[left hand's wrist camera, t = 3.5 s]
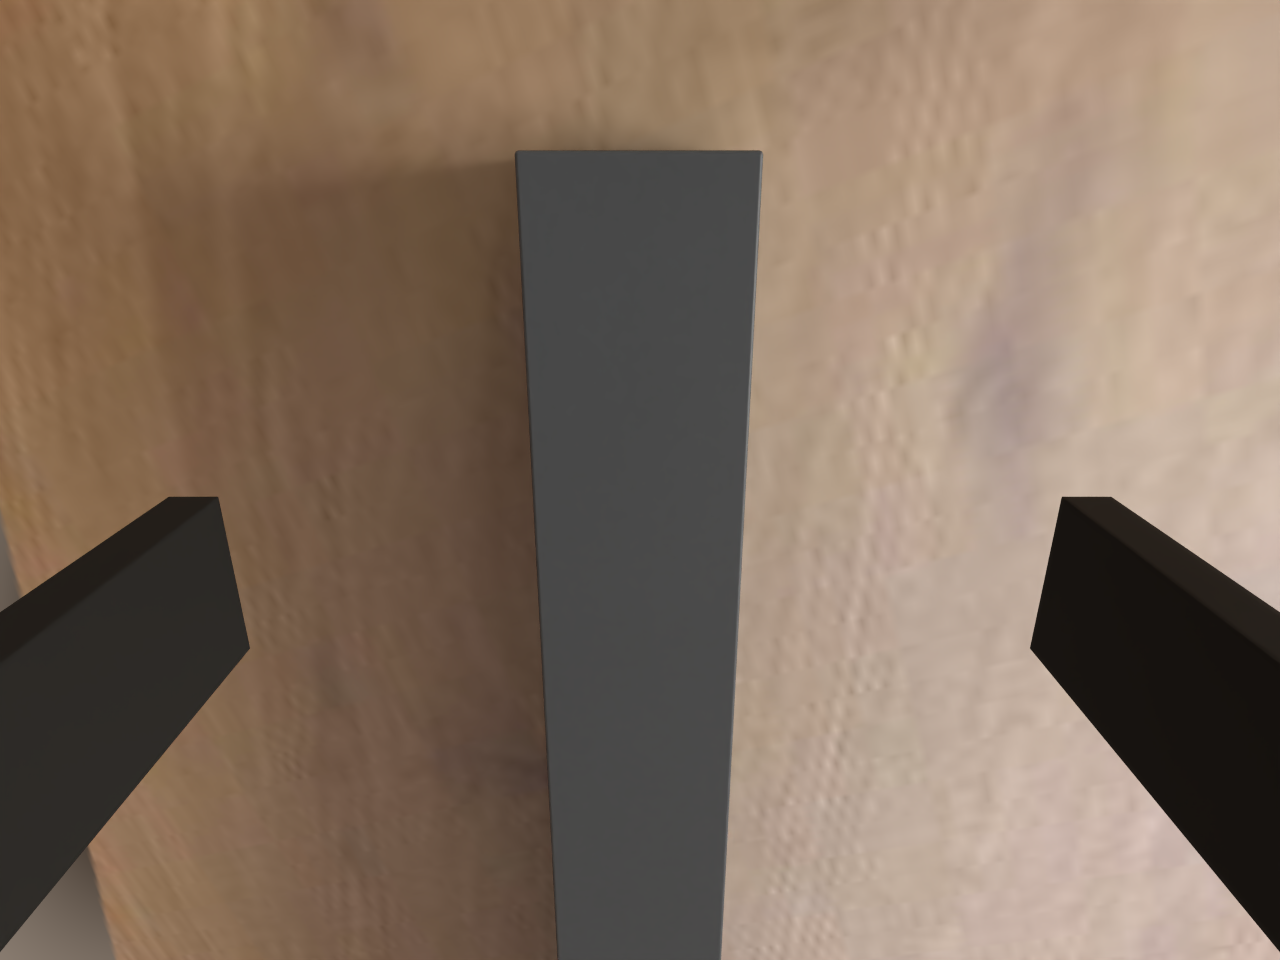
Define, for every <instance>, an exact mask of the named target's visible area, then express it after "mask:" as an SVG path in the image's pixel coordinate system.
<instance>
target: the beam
mask: <svg viewBox="0 0 1280 960" xmlns="http://www.w3.org/2000/svg"><path fill="white" fill-rule="evenodd" d="M762 165H763V153H762V152H761V151H516V152H515V168H516V187H517V206H518V225H519V243H520V262H521V281H522V300H523V318H524V337H525V356H526V375H527V393H528V412H529V431H530V450H531V468H532V487H533V506H534V525H535V544H536V562H537V581H538V600H539V619H540V637H541V656H542V675H543V694H544V712H545V731H546V750H547V769H548V787H549V806H550V825H551V844H552V862H553V881H554V900H555V919H556V938H557V956H558V960H721V948H722V929H723V910H724V891H725V871H726V852H727V833H728V814H729V795H730V776H731V757H732V738H733V719H734V700H735V680H736V661H737V642H738V623H739V604H740V585H741V566H742V547H743V528H744V509H745V489H746V470H747V451H748V432H749V413H750V394H751V375H752V356H753V337H754V318H755V298H756V279H757V260H758V241H759V222H760V203H761V184H762Z"/></svg>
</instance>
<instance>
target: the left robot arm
mask: <svg viewBox="0 0 1280 960" xmlns="http://www.w3.org/2000/svg"><path fill="white" fill-rule="evenodd" d="M249 649H250V646H249V642H248V637H247V632H246V627H245V623H244V618H243V613H242V608H241V603H240V599H239V594H238V589H237V584H236V580H235V575H234V570H233V565H232V561H231V556H230V551H229V546H228V542H227V537H226V532H225V527H224V523H223V518H222V513H221V508H220V504H219V499H218V497H168V498H166V499H165V500H164V501H162V502H161V503H159V504H158V505H156V506H155V507H153V508H152V509H150V510H149V511H147V512H146V513H145V514H143V515H142V516H140V517H139V518H137V519H136V520H134V521H133V522H131V523H130V524H129V525H127V526H126V527H124V528H123V529H121V530H120V531H118V532H117V533H115V534H114V535H112V536H111V537H110V538H108V539H107V540H105V541H104V542H102V543H101V544H99V545H98V546H96V547H95V548H93V549H92V550H91V551H89V552H88V553H86V554H85V555H83V556H82V557H80V558H79V559H77V560H76V561H74V562H73V563H72V564H70V565H69V566H67V567H66V568H64V569H63V570H61V571H60V572H58V573H57V574H55V575H54V576H53V577H51V578H50V579H48V580H47V581H45V582H44V583H42V584H41V585H39V586H38V587H36V588H35V589H34V590H32V591H31V592H29V593H28V594H26V595H25V596H23V597H22V598H20V599H19V600H18V601H16V602H15V603H13V604H12V605H10V606H9V607H7V608H6V609H4V610H3V611H1V612H0V951H1V950H2V949H3V948H4V947H5V945H6V944H7V943H8V942H9V940H10V939H11V938H12V937H13V936H14V934H15V933H16V932H17V931H18V930H19V928H20V927H21V926H22V925H23V924H24V922H25V921H26V920H27V919H28V917H29V916H30V915H31V914H32V913H33V911H34V910H35V909H36V908H37V906H38V905H39V904H40V903H41V902H42V900H43V899H44V898H45V897H46V896H47V894H48V893H49V892H50V891H51V889H52V888H53V887H54V886H55V885H56V883H57V882H58V881H59V880H60V879H61V877H62V876H63V875H64V874H65V872H66V871H67V870H68V869H69V868H70V866H71V865H72V864H73V863H74V862H75V860H76V859H77V858H78V857H79V855H80V854H81V853H82V852H83V851H84V849H85V848H86V847H87V846H88V845H89V843H90V842H91V841H92V840H93V838H94V837H95V836H96V835H97V834H98V832H99V831H100V830H101V829H102V828H103V826H104V825H105V824H106V823H107V821H108V820H109V819H110V818H111V817H112V815H113V814H114V813H115V812H116V811H117V809H118V808H119V807H120V806H121V804H122V803H123V802H124V801H125V800H126V798H127V797H128V796H129V795H130V793H131V792H132V791H133V790H134V789H135V787H136V786H137V785H138V784H139V783H140V781H141V780H142V779H143V778H144V776H145V775H146V774H147V773H148V772H149V770H150V769H151V768H152V767H153V766H154V764H155V763H156V762H157V761H158V759H159V758H160V757H161V756H162V755H163V753H164V752H165V751H166V750H167V749H168V747H169V746H170V745H171V744H172V742H173V741H174V740H175V739H176V738H177V736H178V735H179V734H180V733H181V732H182V730H183V729H184V728H185V727H186V725H187V724H188V723H189V722H190V721H191V719H192V718H193V717H194V716H195V714H196V713H197V712H198V711H199V710H200V708H201V707H202V706H203V705H204V704H205V702H206V701H207V700H208V699H209V697H210V696H211V695H212V694H213V693H214V691H215V690H216V689H217V688H218V687H219V685H220V684H221V683H222V682H223V680H224V679H225V678H226V677H227V676H228V674H229V673H230V672H231V671H232V670H233V668H234V667H235V666H236V665H237V663H238V662H239V661H240V660H241V659H242V657H243V656H244V655H245V654H246V653H247V651H248V650H249ZM1030 649H1031V650H1032V651H1033V653H1034V654H1035V655H1036V656H1037V657H1038V659H1039V660H1040V661H1041V662H1042V663H1043V665H1044V666H1045V667H1046V668H1047V670H1048V671H1049V672H1050V673H1051V674H1052V676H1053V677H1054V678H1055V679H1056V680H1057V682H1058V683H1059V684H1060V685H1061V687H1062V688H1063V689H1064V690H1065V691H1066V693H1067V694H1068V695H1069V696H1070V697H1071V699H1072V700H1073V701H1074V702H1075V704H1076V705H1077V706H1078V707H1079V708H1080V710H1081V711H1082V712H1083V713H1084V714H1085V716H1086V717H1087V718H1088V719H1089V721H1090V722H1091V723H1092V724H1093V725H1094V727H1095V728H1096V729H1097V730H1098V732H1099V733H1100V734H1101V735H1102V736H1103V738H1104V739H1105V740H1106V741H1107V742H1108V744H1109V745H1110V746H1111V747H1112V749H1113V750H1114V751H1115V752H1116V753H1117V755H1118V756H1119V757H1120V758H1121V759H1122V761H1123V762H1124V763H1125V764H1126V766H1127V767H1128V768H1129V769H1130V770H1131V772H1132V773H1133V774H1134V775H1135V776H1136V778H1137V779H1138V780H1139V781H1140V783H1141V784H1142V785H1143V786H1144V787H1145V789H1146V790H1147V791H1148V792H1149V793H1150V795H1151V796H1152V797H1153V798H1154V800H1155V801H1156V802H1157V803H1158V804H1159V806H1160V807H1161V808H1162V809H1163V811H1164V812H1165V813H1166V814H1167V815H1168V817H1169V818H1170V819H1171V820H1172V821H1173V823H1174V824H1175V825H1176V826H1177V828H1178V829H1179V830H1180V831H1181V832H1182V834H1183V835H1184V836H1185V837H1186V838H1187V840H1188V841H1189V842H1190V843H1191V845H1192V846H1193V847H1194V848H1195V849H1196V851H1197V852H1198V853H1199V854H1200V855H1201V857H1202V858H1203V859H1204V860H1205V862H1206V863H1207V864H1208V865H1209V866H1210V868H1211V869H1212V870H1213V871H1214V872H1215V874H1216V875H1217V876H1218V877H1219V879H1220V880H1221V881H1222V882H1223V883H1224V885H1225V886H1226V887H1227V888H1228V889H1229V891H1230V892H1231V893H1232V894H1233V896H1234V897H1235V898H1236V899H1237V900H1238V902H1239V903H1240V904H1241V905H1242V907H1243V908H1244V909H1245V910H1246V911H1247V913H1248V914H1249V915H1250V916H1251V917H1252V919H1253V920H1254V921H1255V922H1256V924H1257V925H1258V926H1259V927H1260V928H1261V930H1262V931H1263V932H1264V933H1265V934H1266V936H1267V937H1268V938H1269V939H1270V941H1271V942H1272V943H1273V944H1274V945H1275V947H1276V948H1277V949H1278V950H1279V951H1280V612H1279V611H1277V610H1276V609H1274V608H1273V607H1271V606H1270V605H1268V604H1267V603H1265V602H1264V601H1262V600H1261V599H1260V598H1258V597H1257V596H1255V595H1254V594H1252V593H1251V592H1249V591H1248V590H1246V589H1245V588H1244V587H1242V586H1241V585H1239V584H1238V583H1236V582H1235V581H1233V580H1232V579H1230V578H1229V577H1227V576H1226V575H1225V574H1223V573H1222V572H1220V571H1219V570H1217V569H1216V568H1214V567H1213V566H1211V565H1210V564H1208V563H1207V562H1206V561H1204V560H1203V559H1201V558H1200V557H1198V556H1197V555H1195V554H1194V553H1192V552H1191V551H1189V550H1188V549H1187V548H1185V547H1184V546H1182V545H1181V544H1179V543H1178V542H1176V541H1175V540H1173V539H1172V538H1170V537H1169V536H1168V535H1166V534H1165V533H1163V532H1162V531H1160V530H1159V529H1157V528H1156V527H1154V526H1153V525H1151V524H1150V523H1149V522H1147V521H1146V520H1144V519H1143V518H1141V517H1140V516H1138V515H1137V514H1135V513H1134V512H1133V511H1131V510H1130V509H1128V508H1127V507H1125V506H1124V505H1122V504H1121V503H1119V502H1118V501H1116V500H1115V499H1114V498H1112V497H1062V499H1061V504H1060V508H1059V513H1058V518H1057V523H1056V527H1055V532H1054V537H1053V542H1052V546H1051V551H1050V556H1049V561H1048V565H1047V570H1046V575H1045V580H1044V584H1043V589H1042V594H1041V599H1040V603H1039V608H1038V613H1037V618H1036V623H1035V627H1034V632H1033V637H1032V642H1031V646H1030Z"/></svg>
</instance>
